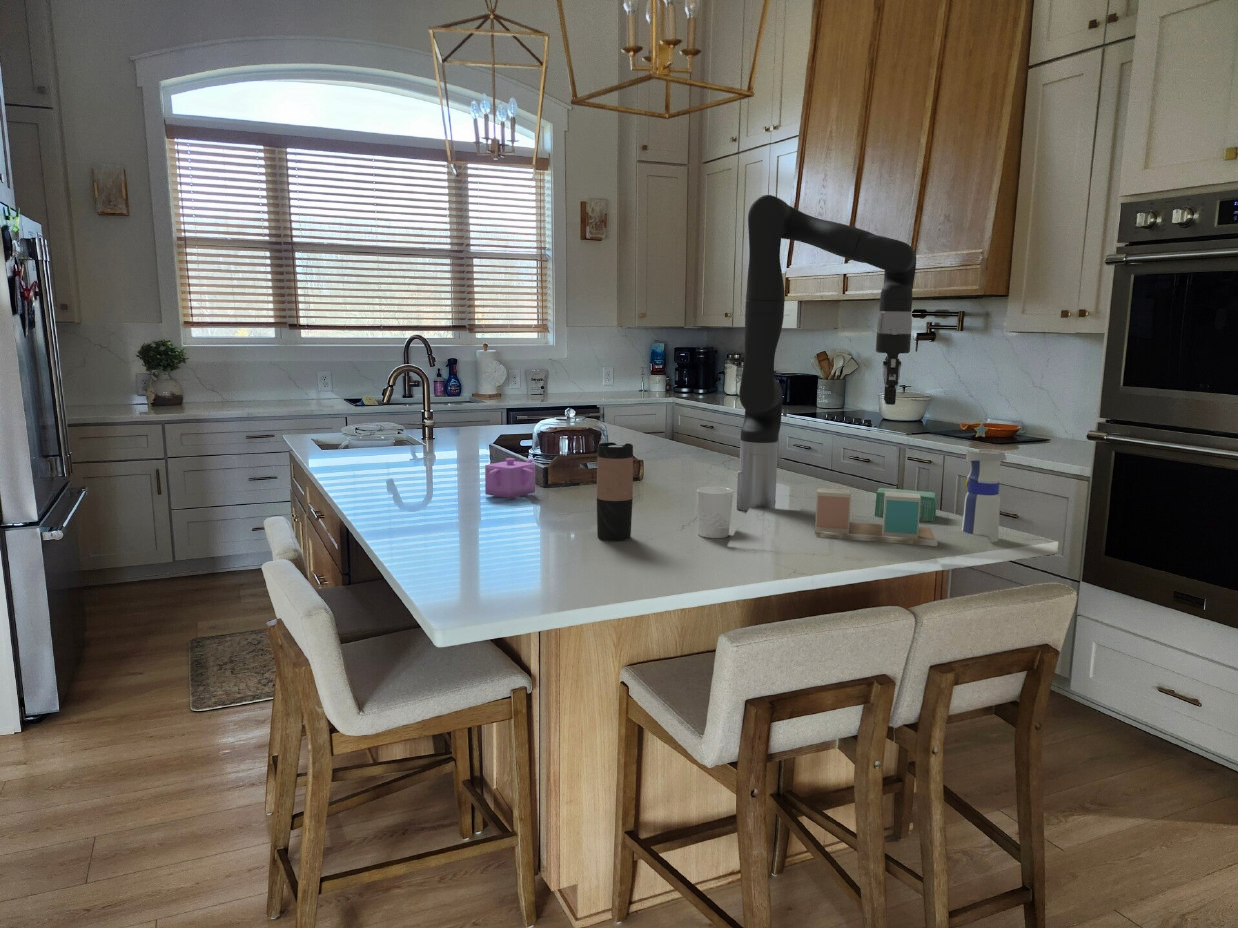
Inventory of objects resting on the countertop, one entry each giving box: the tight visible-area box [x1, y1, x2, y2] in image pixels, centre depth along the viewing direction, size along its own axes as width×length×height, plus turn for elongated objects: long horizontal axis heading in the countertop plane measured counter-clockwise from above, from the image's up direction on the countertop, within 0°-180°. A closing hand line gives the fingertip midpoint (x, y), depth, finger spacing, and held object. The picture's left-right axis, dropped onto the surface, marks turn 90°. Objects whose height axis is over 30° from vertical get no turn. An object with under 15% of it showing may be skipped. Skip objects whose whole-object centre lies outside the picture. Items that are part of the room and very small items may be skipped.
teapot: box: [484, 457, 536, 501], centre depth 228 cm, size 18×14×10 cm
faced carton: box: [814, 487, 852, 534], centre depth 187 cm, size 7×5×9 cm
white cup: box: [696, 486, 734, 539], centre depth 188 cm, size 8×8×10 cm
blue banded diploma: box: [961, 422, 1007, 543], centre depth 188 cm, size 8×9×25 cm
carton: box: [882, 492, 921, 539], centre depth 183 cm, size 7×5×9 cm
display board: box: [816, 521, 939, 547], centre depth 188 cm, size 24×17×2 cm
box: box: [874, 487, 938, 522], centre depth 205 cm, size 7×14×8 cm, turn 69°
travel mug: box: [596, 442, 634, 542], centre depth 184 cm, size 8×8×20 cm
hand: (889, 402), depth 200 cm, fingers open, 8 cm apart
